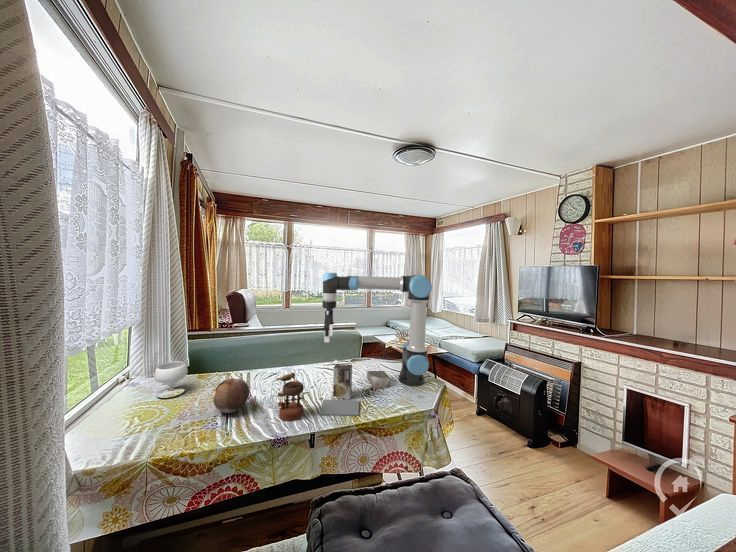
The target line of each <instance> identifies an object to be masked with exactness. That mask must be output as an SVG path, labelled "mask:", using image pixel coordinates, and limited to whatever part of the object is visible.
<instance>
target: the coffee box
mask: <svg viewBox="0 0 736 552" xmlns="http://www.w3.org/2000/svg"><path fill="white" fill-rule="evenodd" d="M332 371H333V381H332V382H333V384H332V386H333V389H332V393H333V394H332V398H333V397H336V398H335V399H337V398H345V399H344V400H351V397H352V395H351V394H353V393H352V391H353V390H352V388H353V387H352V385H353V384H352V383H353V364H350V363H349V364H348V363H347V364H345V363H336V364H335V365H334V367H333V370H332Z"/></svg>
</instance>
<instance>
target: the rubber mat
mask: <svg viewBox="0 0 736 552" xmlns="http://www.w3.org/2000/svg"><path fill="white" fill-rule="evenodd" d="M359 412H360V400H356V399H355V400H353V399H323V400H322V404H321V407H320V411H319V413H318V415H319V416H334V417H335V416H337V417H339V416H341V417H342V416H343V417H345V416H346V417H348V416H349V417H359V414H360V413H359Z"/></svg>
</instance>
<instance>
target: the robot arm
mask: <svg viewBox="0 0 736 552" xmlns="http://www.w3.org/2000/svg"><path fill="white" fill-rule="evenodd" d="M432 289H433V285H432V282H431V280H430V279H429V278H428V277H427V276H425V275H423V274H412V275H411V274H410V275H401V276H400V277H399V276H398V277H397V276H396V277H395V276H364V275H363V276H362V275H360V276H359V275H346V276H338V273H337V272H324V273H323V277H322V294H321V297H322V300H323V301H322V308H323V309H326V310H325V312H324V323H323V324H324V325H323V328H322V330H323V331H324V332H323V333H324V334H323V335H324V338H323V339H324V341H323V342H324V343H330V337H332V336H333V328H334V324H335V321H334V309H336V308H337V291H351V292H352V291H359V290H385V291H386V290H388V291H389V290H391V291H400V292H401V293H407V299H408V301H409V302H410V307H409V310H410V315H409V339H408V341H409V342H404V343H403V344H402V356H401V357H402V361H401V364H402V365H401V369H400V373H399V374H398V381H399V383H401V384H403V385H405V386H411V387H418V386H422V385H424V383H425V377H424V374H425V373H426V372H428V370H429V368H430V363H429V360H428V348H427V347H426V327H427V326H426V325H427V324H426V323H427V322H426V321H427V303H428V302H429V301H430V295H431V292H432Z"/></svg>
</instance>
